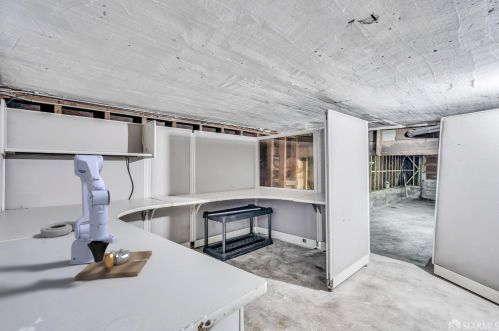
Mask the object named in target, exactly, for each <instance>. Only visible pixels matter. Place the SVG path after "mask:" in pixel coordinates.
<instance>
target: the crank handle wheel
mask: <svg viewBox="0 0 499 331" xmlns="http://www.w3.org/2000/svg"><path fill="white" fill-rule="evenodd" d="M124 249H125V248H120V249H119V250H117V251H116V250H110V251H109V254H106V255H105V270H111V269H113V265H120V264H124V263H126V262H128V261H129V260H130V252H131V251H130V249H125V250H124Z"/></svg>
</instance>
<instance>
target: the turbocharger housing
mask: <svg viewBox="0 0 499 331" xmlns="http://www.w3.org/2000/svg"><path fill="white" fill-rule="evenodd" d="M75 222H76V220H67V221H66V220H65V221H59V222H53V223H51V224H47V225H45V226H43V227H42V228H41V229H40V237H42V238H44V237H52V238H57V237H62V235H63V236H66V235H68V234H70V233H71V232H74V231H75Z"/></svg>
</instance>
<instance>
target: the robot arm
mask: <svg viewBox="0 0 499 331" xmlns="http://www.w3.org/2000/svg"><path fill="white" fill-rule="evenodd" d="M103 167H104V157H103V156H102V155H100V154H99V155H96V154H95V155H93V154H91V155H88V154H75V155H74V157H73V171H74V175H75V176H76V177H79V179H80V183H81V205H82V207H81V209H82V216H80V217H79V218H77V219H76V220H75V221H76V222H75V231H73V233H74V239H75V240H73V241H72V243H71V246H70V263H69V265H83V264H91V263H92V262H93V261H95V263H99V262H101V261H103V257H104V254H105V253H106V251H107V249H108V247H109V245H110V244H111V245H113V244H115V243H118V236H115V235H111V234H109V206H110V205H111V204H110V203H111V192H110V190H109V189H108V188H106V184H105V181H104V179H103V177H101V176H100V175H101V172H102V170H103Z"/></svg>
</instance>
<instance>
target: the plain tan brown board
mask: <svg viewBox="0 0 499 331" xmlns="http://www.w3.org/2000/svg"><path fill="white" fill-rule="evenodd" d="M129 252H130V260H129V261H128V262H126V263H124V264H120V265H113V269H111V270H105V255H106V254H109V253H110V252H109V253H108V252H107V253H106V252H105V254H104V257H103V261H101V262H99V263H95V261H93V262H92V263H88V265H87V266H86V267H84V268H83V269H82V270H81V271H80V272H77V274H76V275H75V276H74V281H87V280H99V279H100V280H102V279H117V278H124V277H125V278H127V277H128V278H129V277H138V276H139V274H140V273H141V272H142V269H143V268H144V267H145V265H146V263H147V262H148V261H149V260H150V258H151V256H152V254H153V251H152V250H142V251H140V250H139V251H129Z"/></svg>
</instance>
